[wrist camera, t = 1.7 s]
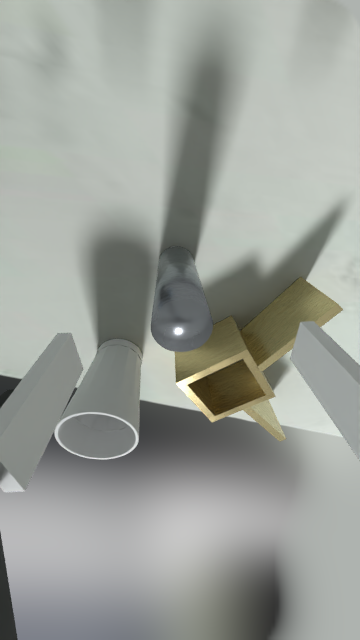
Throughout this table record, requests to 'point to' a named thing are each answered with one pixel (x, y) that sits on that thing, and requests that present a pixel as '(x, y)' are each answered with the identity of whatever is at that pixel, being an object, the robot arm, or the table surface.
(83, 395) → the cup
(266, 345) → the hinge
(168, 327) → the pin
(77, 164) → the table surface
